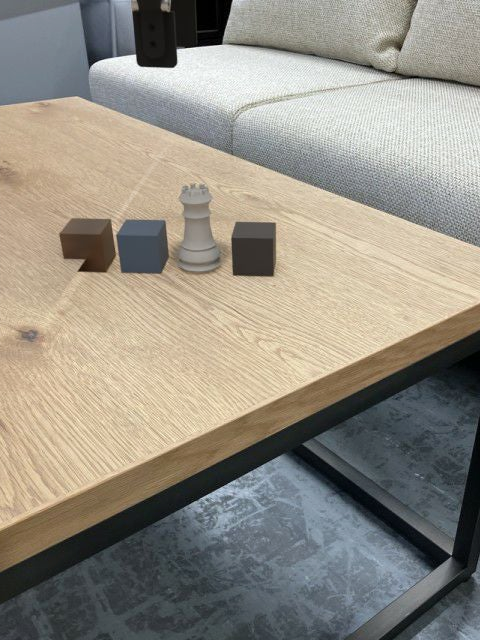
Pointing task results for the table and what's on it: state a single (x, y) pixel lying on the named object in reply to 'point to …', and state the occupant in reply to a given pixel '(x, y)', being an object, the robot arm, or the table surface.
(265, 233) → the block
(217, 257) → the rook chess piece
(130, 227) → the block
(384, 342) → the table surface
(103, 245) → the block
